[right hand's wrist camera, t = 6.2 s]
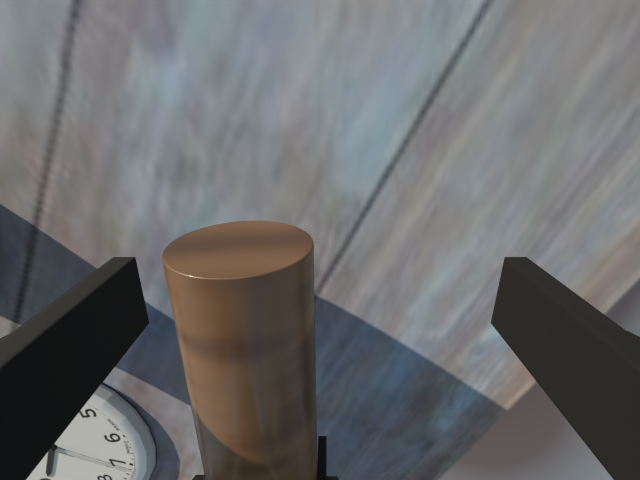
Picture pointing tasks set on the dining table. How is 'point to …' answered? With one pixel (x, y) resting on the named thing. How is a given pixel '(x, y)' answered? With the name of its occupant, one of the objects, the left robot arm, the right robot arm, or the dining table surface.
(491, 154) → the dining table surface
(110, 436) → the wall clock
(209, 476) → the rod
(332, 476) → the left robot arm
